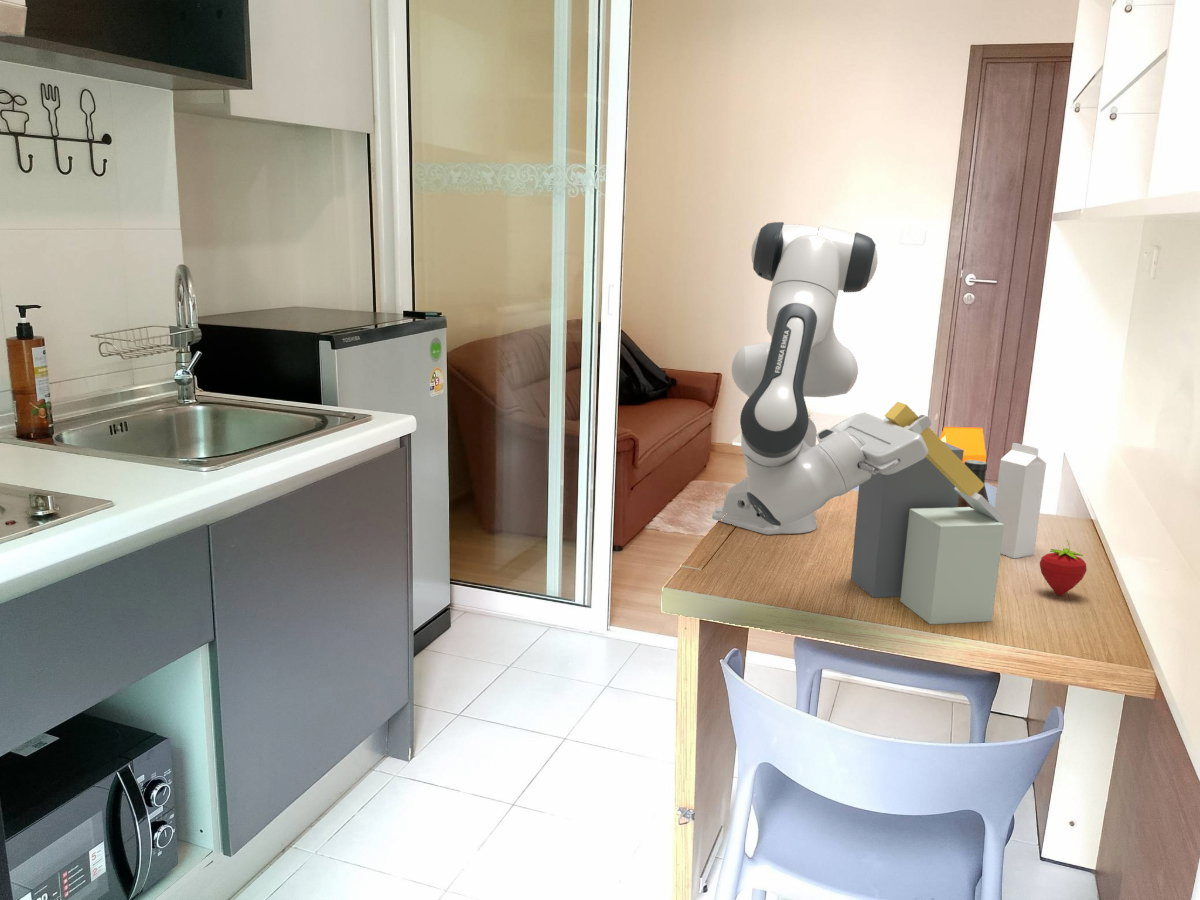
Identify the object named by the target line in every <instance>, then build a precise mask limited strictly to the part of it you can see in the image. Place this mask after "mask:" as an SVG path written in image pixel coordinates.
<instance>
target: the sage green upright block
mask: <svg viewBox="0 0 1200 900" xmlns="http://www.w3.org/2000/svg"><path fill="white" fill-rule="evenodd" d="M1003 530H1004V524H1002V523H1000V522H998V521H996V520H994V519H992V518H990V517H988V516H986V515H984V514H982V513H980V512H978V511H976V510H974V509H972V508H970V507H954V508H918V509H910V511H909V521H908V530H907V540H906V550H905V559H904V569H903V579H902V589H901V597H900V599H899V600H900V601H899V602H900V603H902V604H903V605H904V606H906V607H907V608H908V609H910V610H911V611H912V612H913V613H915V614H916V615H918V616H919V617H920V618H921V619H922V620H924V621H925V622H926V623H928V624H929V625H944V624H945V625H947V624H963V623H966V624H967V623H981V622H982V623H983V622H993V618H994V617H993V615H994V608H995V602H996V600H995V599H996V593H997V592H996V591H997V586H998V585H997V584H998V576H999V568H1000V561H1001V560H1000V559H1001V555H1002V554H1001V546H1002V538H1003Z"/></svg>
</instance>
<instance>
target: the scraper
mask: <svg viewBox="0 0 1200 900" xmlns="http://www.w3.org/2000/svg"><path fill="white" fill-rule="evenodd" d="M914 412H915V411H913V410H912V409H911V408H910V406H909V405H908V404H906V403H902V402H900V401H896V402H895V404H894V405H892V407H891V408H890V409H889V410H888V411H887V412H886V413H885V415H884V417H885V418H887V419H888V420H889V421H890V422H891V423H892V424H895V425H897V426H900V427H903V428H904V427H905V426H910V425H911V424H912V423H913V422H915V421H914V419H915V418H917V417H919V416H918V415H917V414H916V412H915V413H914ZM920 435H921V436H922V437H923V439H924V442H925V444H926V446H927V449H928V454H927V456H926V458H927V459H928V460H929V461H930V462H931V463H932V464H933V465H934V466H935V467H936V468H937V469H938V470H939V471H940V472H941V473H942V474H943V475H944V476H945V477H946V478H947V479H948V480H949V481H950V482H951V483H952V484H953V485H954V486H955V488H954V489H955V490H956V491H957V492H958V493H959V494H960V495H961V496H962V497H963V498H964V499H965V500H966V501H967V502H968V503H969V504H970V505H971V506H972V507H973V508H974V509H975V510H976V511H978V512H980V513H982V514H984V515H986V516H988V517H990V518H992V519H994V520H996V521H998V522H1000V523H1001V521H1002V520H1003V519H1004V517H1003V516H1002V515H1001V514H1000V513H999V512H998V511H997V510H996V509H995V506H993V504H991V503H990V501H989V500H988V501H989V502H988V501H987V500H986V499H985V498H984V497H983V496H982V495H980V494H978V492H979V491H980V490H981V489H982V488H983V486H984V485H985V486H986V484H984V483H983V482H982V481H981V480H980V479H979V478H978V477H977V476H976V475H975V474H974V473H973V472H972V471H971V470H970V469H969V468H968V467H967V466H966V465H965V464H964V463H963V462H962V461H961V460H960V459H959V458H958V457H957V456H956V455H955V454H954V453H953V452H952V451H951V450H950V449H949V448H948V447H947V445H946V444H945V443H944V442H943V441H942V440H941V439H940V437H939V436H938V435H937V434H936V433H935V432H934V431H933V430H932V429H931V428H930V426H929V427H928V428H926V429H924V430H923V431H922V432H921V434H920Z"/></svg>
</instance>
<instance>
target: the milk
mask: <svg viewBox="0 0 1200 900" xmlns="http://www.w3.org/2000/svg"><path fill="white" fill-rule="evenodd" d="M1046 468H1047V462H1045V460H1043V459H1042V458H1040V456H1039V448H1038V447H1033V446H1029V445H1026V444H1022V443H1021V444H1020V443H1016V442H1013V443H1012V445H1011V450H1009V451H1008V452H1007V453H1006V454H1005V455H1003V457H1001V459H1000V462H999V470H998V475H997V478H998V479H997V486H996V494H995V501H994V508H995V509H996V510H997V511H998V512H999V513H1000V514H1001V515H1002V516H1003V517H1004V519H1003V520H1002V521H1001V523H1002V524H1004V530H1003V538H1002V546H1001V554H1000V555H1002V554H1003V556H1005V555H1006V557H1009V558H1010V559H1019V558H1024V557H1029V556H1033V555H1035V549H1036V542H1037V535H1038V528H1039V527H1038V526H1039V522H1040V521H1039V520H1040V514H1041V513H1040V512H1041V511H1040V510H1041V505H1042V497H1043V492H1044V491H1043V490H1044V483H1045V477H1046V476H1045V475H1046V470H1047V469H1046Z"/></svg>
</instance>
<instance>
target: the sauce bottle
mask: <svg viewBox="0 0 1200 900" xmlns="http://www.w3.org/2000/svg"><path fill="white" fill-rule="evenodd" d="M964 464H965V465H966V466H967V467H968V468H969V469H970V470H971V471H972V472H973V473H974V474H975V475H976V476H977V477H978V478H979V479H980V480H981V481H982V482H983V483H984V484H985V479H986V471H987V470H988V463H987V461H986V462H984V461H979V460H966V461H965V463H964ZM978 494H980V495H982V496H983V497H984V498H985V499H986V500H987V501H988V502H989V503H990V501H989V498H988V493H987V490H986V484H985V485H984V486H983V488H982V489H981V490H980V491H979V492H978ZM958 507H970V508H972V509H974V508H973V507H972V506H971V505H970V504H969V503H968V502H967V501H966V500H965V499H964V498H963V497H962V496H961V495H960V494H959V498H958ZM974 510H975V509H974Z"/></svg>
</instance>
